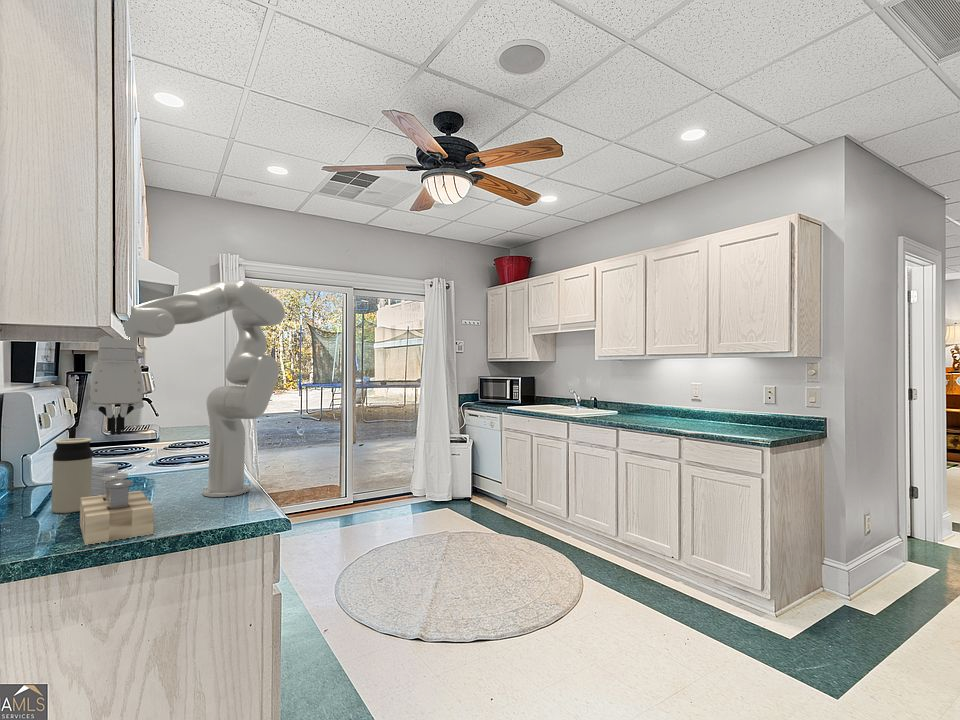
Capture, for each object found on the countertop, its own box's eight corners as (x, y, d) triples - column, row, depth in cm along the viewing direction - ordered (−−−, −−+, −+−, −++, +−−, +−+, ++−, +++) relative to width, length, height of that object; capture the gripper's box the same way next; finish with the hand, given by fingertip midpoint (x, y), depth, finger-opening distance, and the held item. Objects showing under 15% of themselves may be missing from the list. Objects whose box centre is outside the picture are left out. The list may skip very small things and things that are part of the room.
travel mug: (87, 511, 131) (89, 440, 132) (47, 515, 128) (49, 442, 128) (93, 504, 138) (95, 437, 139) (55, 507, 135) (57, 438, 135)
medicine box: (118, 494, 150) (119, 464, 150) (103, 497, 146) (104, 466, 146) (96, 492, 152) (97, 462, 152) (81, 495, 148) (82, 465, 148)
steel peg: (98, 502, 122) (99, 474, 122) (125, 499, 125) (126, 472, 125) (100, 507, 118) (101, 478, 118) (128, 503, 121) (129, 475, 121)
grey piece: (102, 511, 114) (103, 482, 114) (130, 507, 118) (131, 479, 118) (104, 516, 110) (105, 486, 110) (133, 512, 114) (134, 483, 114)
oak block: (79, 523, 121) (80, 497, 121) (140, 514, 129) (140, 490, 129) (84, 545, 106) (85, 516, 106) (153, 534, 114) (153, 507, 114)
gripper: (152, 357, 130) (150, 430, 130) (76, 356, 120) (74, 434, 120) (157, 357, 124) (155, 433, 124) (78, 355, 115) (75, 438, 114)
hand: (115, 433), depth 122 cm, fingers closed
